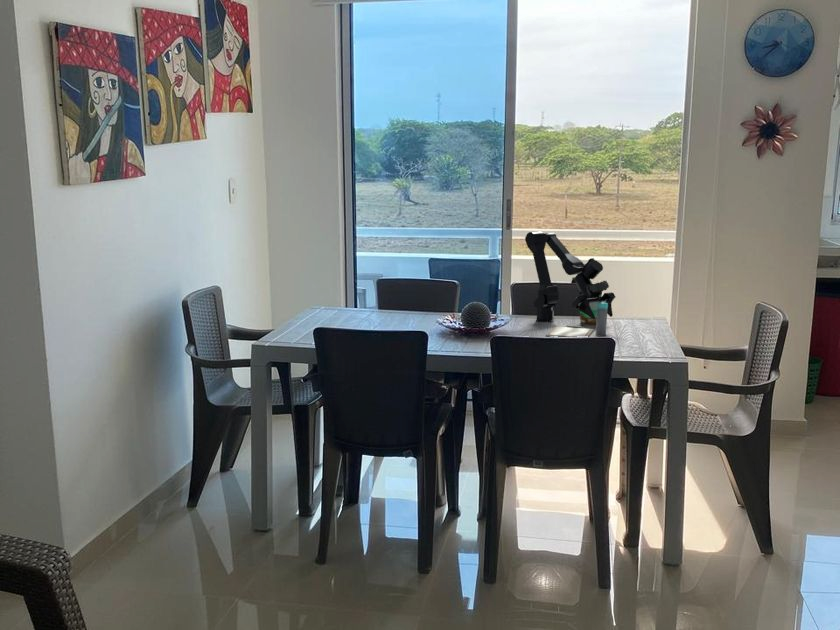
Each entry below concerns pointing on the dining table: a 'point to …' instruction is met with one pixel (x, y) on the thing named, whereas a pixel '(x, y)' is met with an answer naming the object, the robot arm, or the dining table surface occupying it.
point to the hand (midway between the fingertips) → (603, 317)
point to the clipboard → (570, 331)
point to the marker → (601, 318)
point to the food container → (585, 318)
